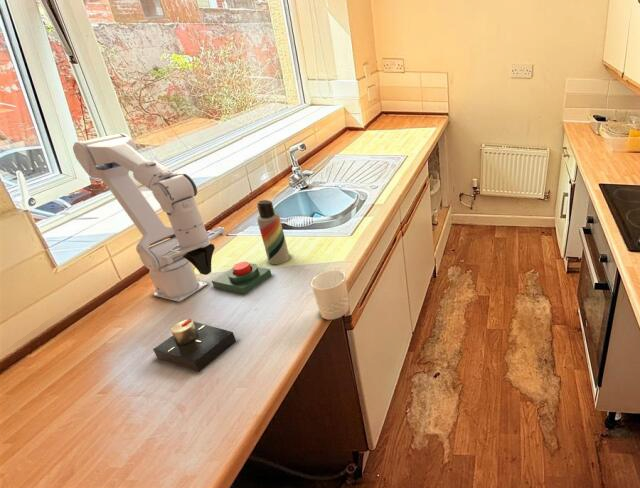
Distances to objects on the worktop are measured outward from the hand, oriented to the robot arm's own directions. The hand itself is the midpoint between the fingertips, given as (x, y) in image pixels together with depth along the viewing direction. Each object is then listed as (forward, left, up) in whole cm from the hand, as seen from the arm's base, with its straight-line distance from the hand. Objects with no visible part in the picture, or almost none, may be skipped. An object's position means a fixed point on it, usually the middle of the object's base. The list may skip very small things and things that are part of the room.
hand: (206, 272), depth 100 cm
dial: (+7, -13, -7) cm, 17 cm away
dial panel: (+9, -13, -10) cm, 19 cm away
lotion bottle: (-2, +22, -11) cm, 25 cm away
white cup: (+30, +7, -11) cm, 33 cm away
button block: (-3, +10, -10) cm, 15 cm away
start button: (-2, +10, -7) cm, 12 cm away
